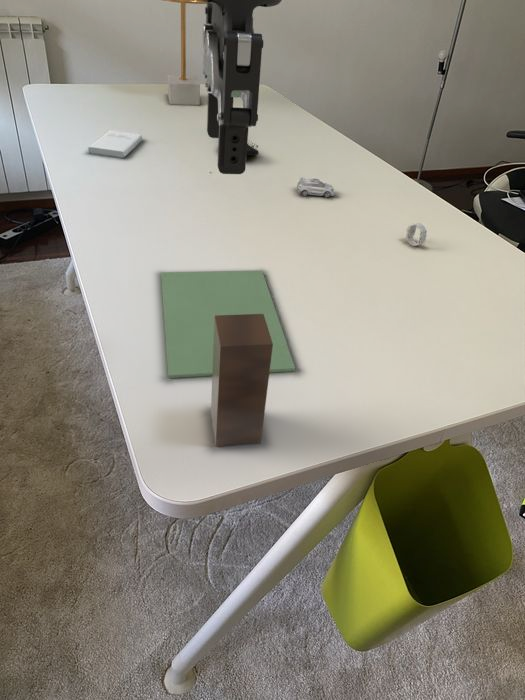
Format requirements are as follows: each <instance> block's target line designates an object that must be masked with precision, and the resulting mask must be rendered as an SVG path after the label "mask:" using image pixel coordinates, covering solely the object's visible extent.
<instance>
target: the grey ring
mask: <svg viewBox="0 0 525 700" xmlns="http://www.w3.org/2000/svg"><path fill="white" fill-rule="evenodd" d="M417 229H418V230H419V236H418V240H417V242H416V241H415V239H414V236H415V235H416V231H417ZM427 232H428V231H427V229H426V226H425V225H424V224H422V223H420V222H418V223H417V222H416V223H412V224H410V225H408V226H407V228H406V232H405V238H406V239H407V242H408V243H409V245H411V246H413V247H415V246H416V247H417V246H420V245H422V244H424V242H425V241H426V239H427Z"/></svg>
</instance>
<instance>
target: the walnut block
mask: <svg viewBox="0 0 525 700" xmlns="http://www.w3.org/2000/svg"><path fill="white" fill-rule="evenodd" d="M272 348H273V343H272V339H271V336H270V333H269V330H268V326H267V323H266V320H265V317H264V314H241V315H215V318H214V344H213V371H212V376H211V399H210V400H211V402H210V417H211V423H212V424H211V425H212V433H213V437H214V444H215V447H216V448H217V447H227V446H242V445H252V444H253V445H255V444H261V443H262V438H263V437H262V436H263V428H264V420H265V413H266V404H267V395H268V388H269V381H270V380H269V379H270V373H271V372H270V364H271V356H272Z"/></svg>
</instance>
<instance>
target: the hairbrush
mask: <svg viewBox="0 0 525 700" xmlns="http://www.w3.org/2000/svg"><path fill="white" fill-rule="evenodd" d="M255 147H256V148H255ZM258 148H259V145H257V144H256V143H254V142H251V141H250V140H248V142H247V155H246V156H252V155H253V156H257V155H259V150H258Z"/></svg>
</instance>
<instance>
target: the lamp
mask: <svg viewBox="0 0 525 700" xmlns="http://www.w3.org/2000/svg"><path fill="white" fill-rule="evenodd" d="M162 1H163V2H171V3H180V74H167V98H168V102H169V104H170V105H182V106H183V105H184V106H185V105H186V106H200V105H201V99H200V98H201V84H200V83H201V82H200V81H199V78H198V76H197V75H187V56H186V55H187V49H186V48H187V46H186V45H187V42H186V41H187V39H186V37H187V36H186V35H187V33H186V32H187V28H186V26H187V25H186V24H187V21H186V19H187V18H186V17H187V16H186V15H187V13H186V12H187V8H186V7H187V6H186V4H191V5H192V4H193V5H207V2H204V1H200V0H162ZM209 3H213V2H209Z"/></svg>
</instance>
